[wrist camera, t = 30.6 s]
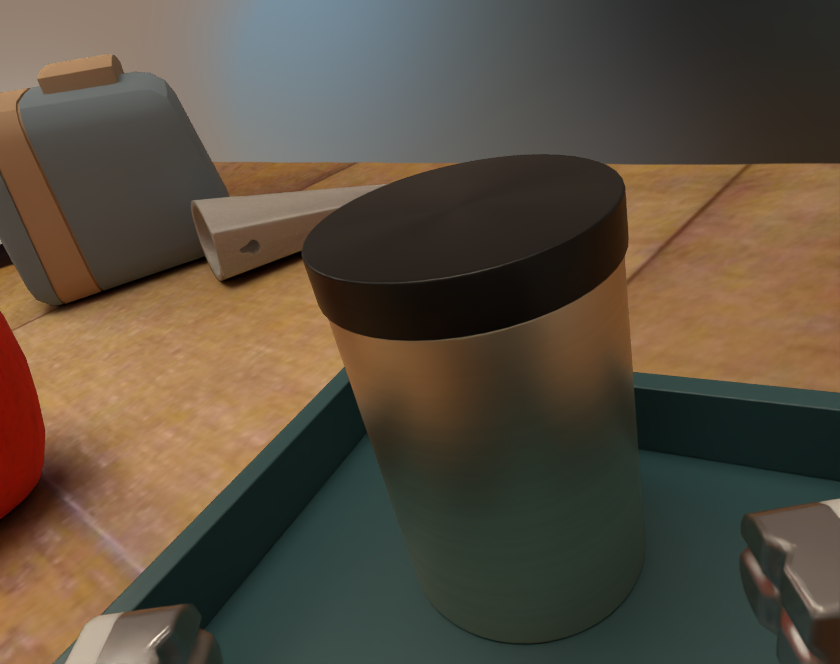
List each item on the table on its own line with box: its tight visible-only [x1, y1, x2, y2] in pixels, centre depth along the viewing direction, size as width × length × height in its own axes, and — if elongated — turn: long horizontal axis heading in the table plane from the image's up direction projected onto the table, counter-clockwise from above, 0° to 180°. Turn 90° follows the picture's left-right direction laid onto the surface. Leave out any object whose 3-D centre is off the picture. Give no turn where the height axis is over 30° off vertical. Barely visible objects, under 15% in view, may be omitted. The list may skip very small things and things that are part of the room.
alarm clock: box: [0, 54, 230, 305], centre depth 51 cm, size 16×16×16 cm
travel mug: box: [302, 154, 645, 644], centre depth 16 cm, size 7×7×10 cm
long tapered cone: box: [191, 184, 387, 281], centre depth 48 cm, size 6×6×19 cm
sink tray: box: [53, 367, 840, 664], centre depth 16 cm, size 18×15×3 cm
